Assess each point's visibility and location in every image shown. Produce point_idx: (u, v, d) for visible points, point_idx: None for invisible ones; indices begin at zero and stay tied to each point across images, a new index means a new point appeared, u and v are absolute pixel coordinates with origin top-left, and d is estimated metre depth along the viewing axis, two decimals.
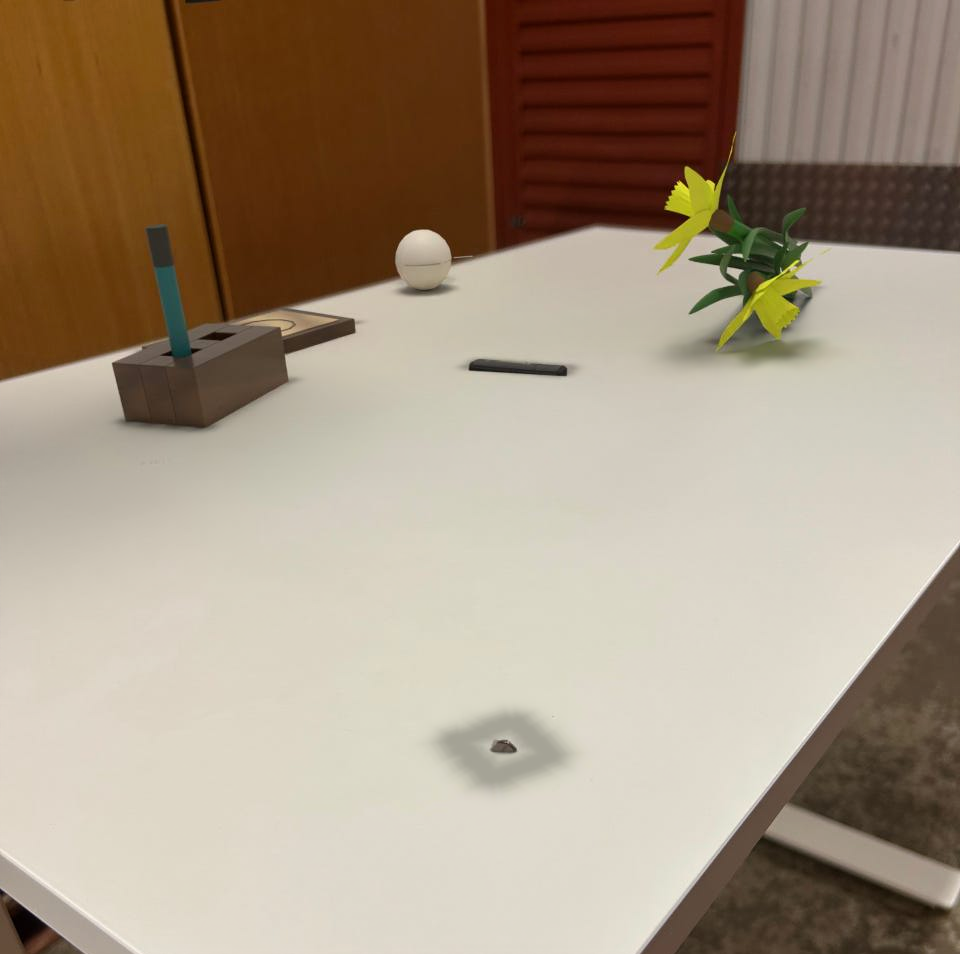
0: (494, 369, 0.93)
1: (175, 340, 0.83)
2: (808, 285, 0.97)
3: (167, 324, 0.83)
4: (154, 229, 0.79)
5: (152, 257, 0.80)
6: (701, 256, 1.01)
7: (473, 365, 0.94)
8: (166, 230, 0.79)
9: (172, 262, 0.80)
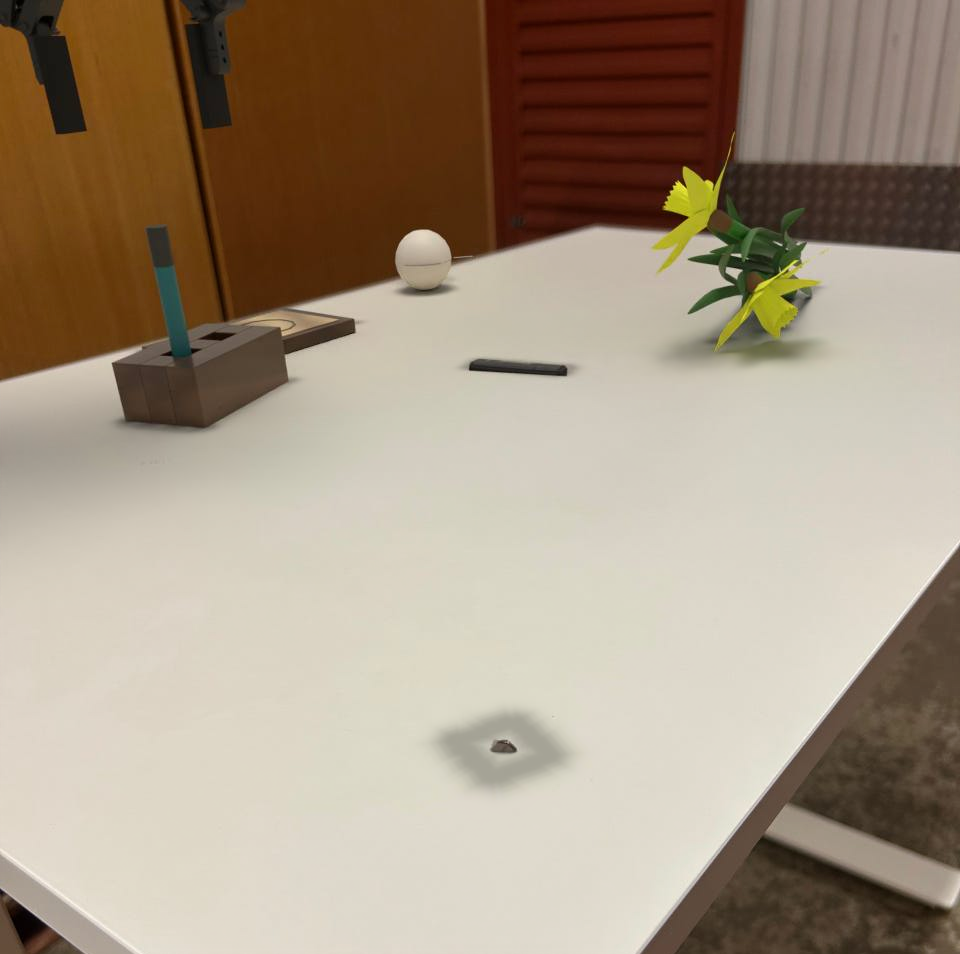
0: (495, 369, 0.93)
1: (175, 340, 0.83)
2: (807, 285, 0.97)
3: (167, 324, 0.83)
4: (154, 229, 0.79)
5: (152, 257, 0.80)
6: (700, 256, 1.01)
7: (473, 365, 0.94)
8: (166, 230, 0.79)
9: (172, 262, 0.80)
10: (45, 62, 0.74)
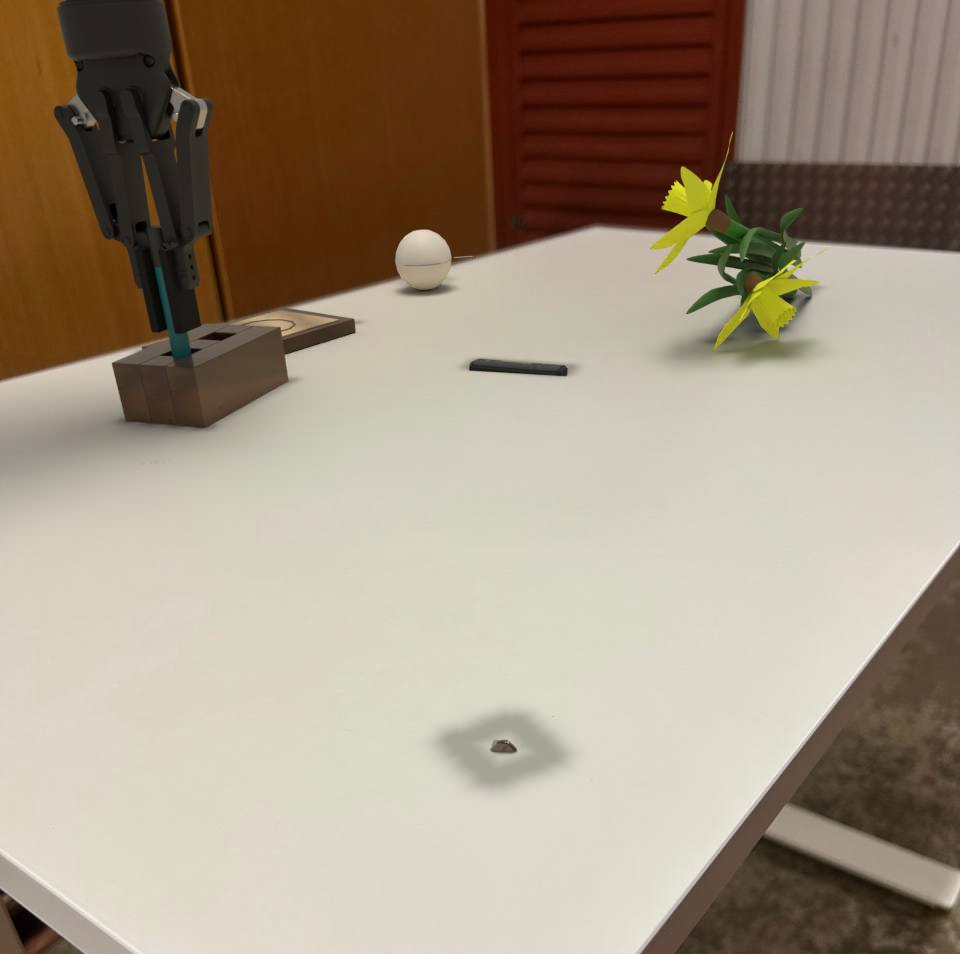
0: (495, 369, 0.93)
1: (175, 340, 0.83)
2: (806, 285, 0.97)
3: (167, 324, 0.83)
4: (154, 229, 0.79)
5: (152, 257, 0.80)
6: (699, 256, 1.01)
7: (473, 364, 0.94)
8: None
9: None
10: (145, 272, 0.80)
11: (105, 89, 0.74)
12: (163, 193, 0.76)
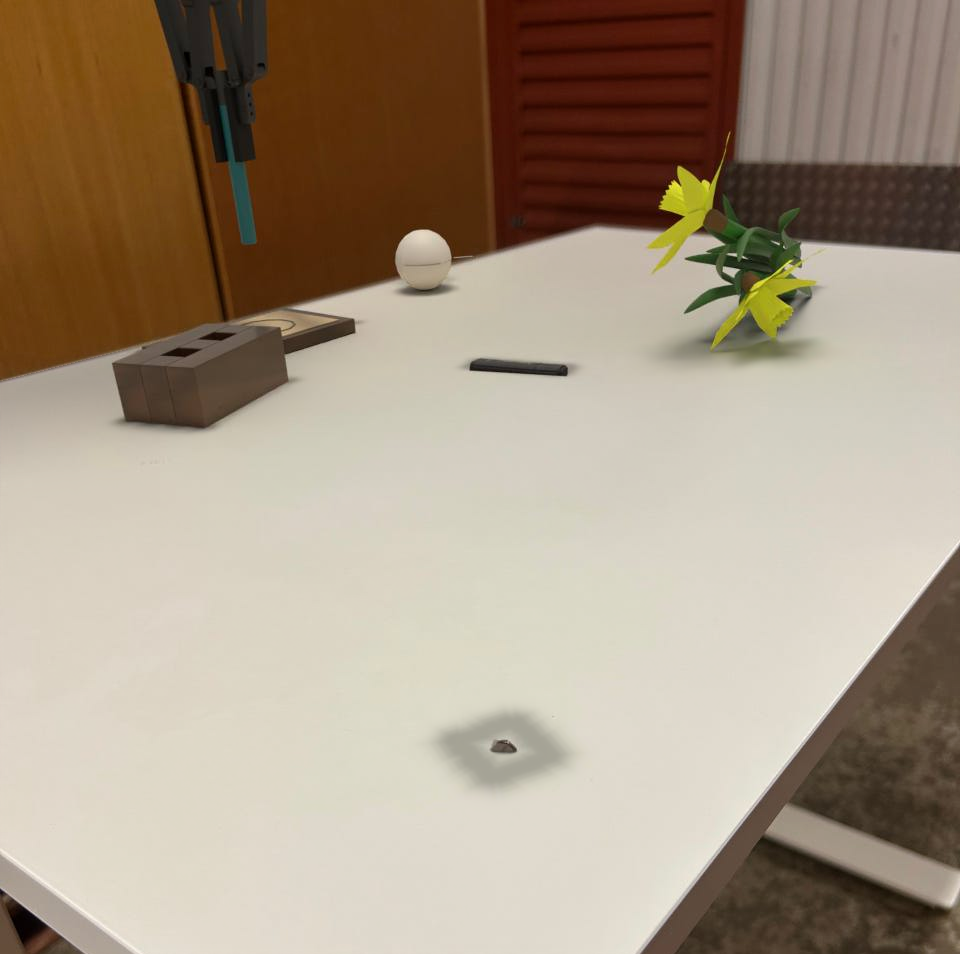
0: (495, 369, 0.93)
1: (235, 169, 1.01)
2: (803, 285, 0.98)
3: (229, 156, 1.00)
4: (220, 71, 0.96)
5: (218, 96, 0.98)
6: (697, 255, 1.01)
7: (474, 364, 0.94)
8: None
9: None
10: (212, 109, 0.98)
11: None
12: (229, 38, 0.94)
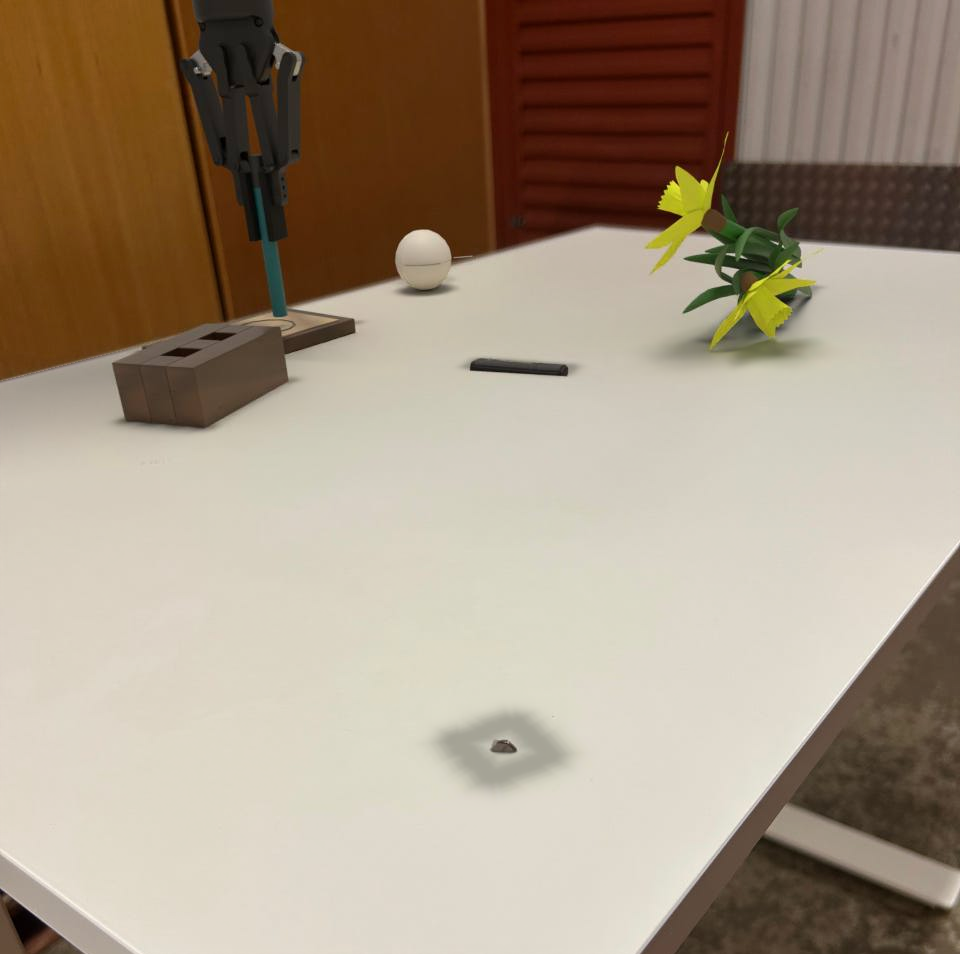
0: (496, 369, 0.93)
1: (268, 247, 1.05)
2: (802, 285, 0.98)
3: (262, 235, 1.04)
4: (255, 156, 1.00)
5: (252, 179, 1.02)
6: (696, 255, 1.01)
7: (474, 364, 0.94)
8: None
9: None
10: (247, 191, 1.02)
11: (222, 45, 0.95)
12: (264, 127, 0.98)
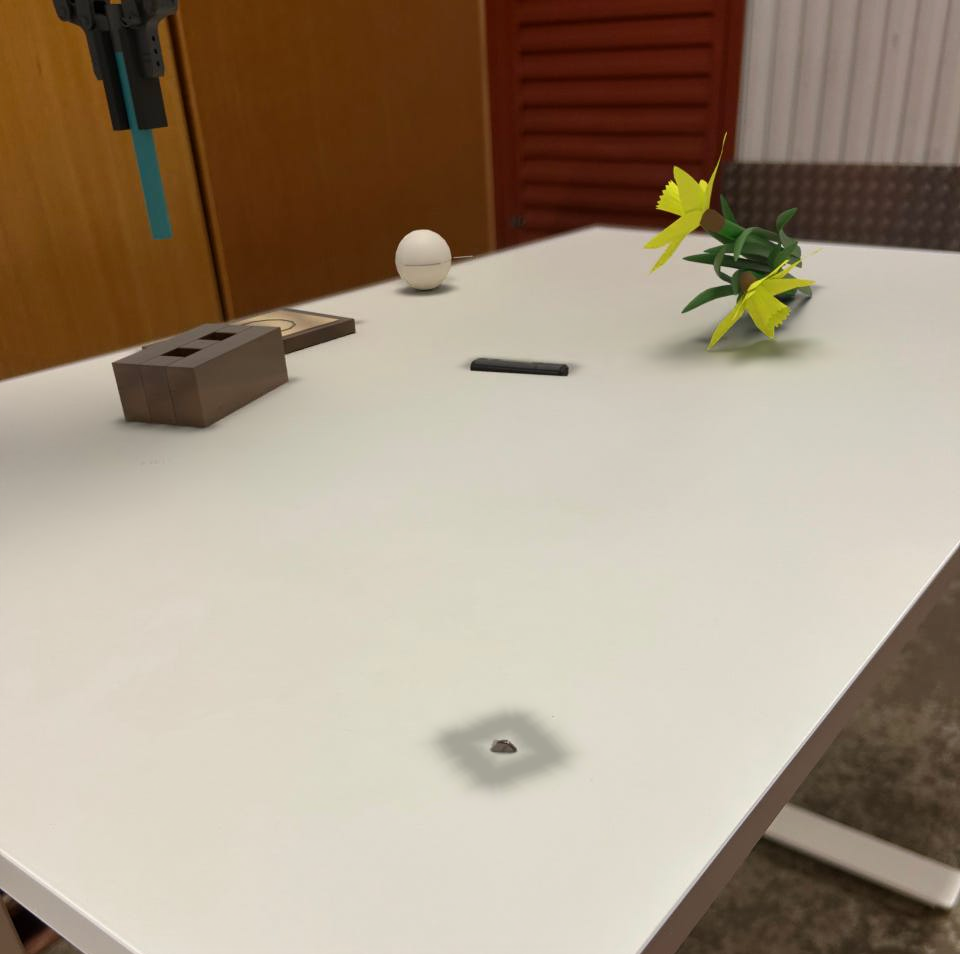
0: (496, 368, 0.93)
1: (139, 139, 0.76)
2: (801, 285, 0.98)
3: (130, 121, 0.76)
4: (114, 5, 0.72)
5: (112, 40, 0.73)
6: (695, 255, 1.01)
7: (474, 364, 0.94)
8: None
9: None
10: (105, 57, 0.73)
11: None
12: None
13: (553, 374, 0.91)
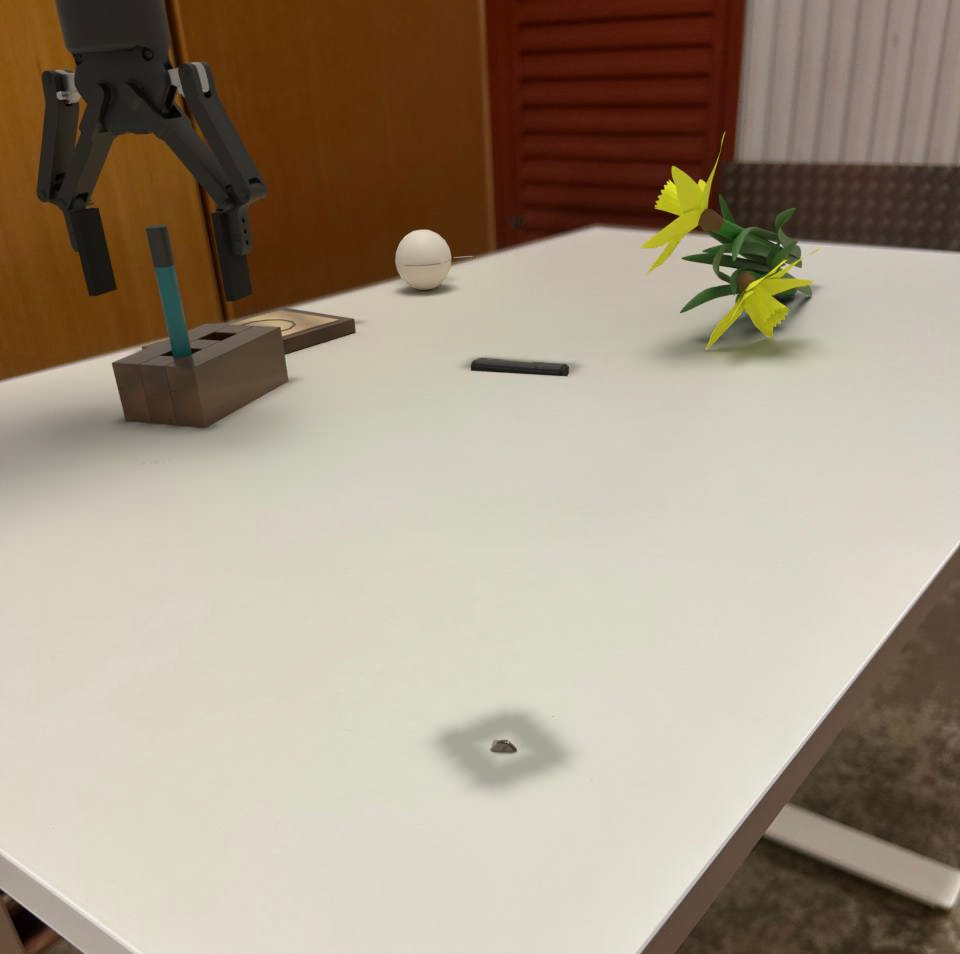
0: (496, 368, 0.93)
1: (176, 340, 0.83)
2: (800, 285, 0.98)
3: (167, 325, 0.82)
4: (154, 229, 0.79)
5: (152, 257, 0.80)
6: (694, 255, 1.01)
7: (475, 364, 0.94)
8: (167, 230, 0.79)
9: (172, 262, 0.80)
10: (80, 235, 0.81)
11: (103, 82, 0.73)
12: (196, 161, 0.74)
13: (553, 374, 0.91)
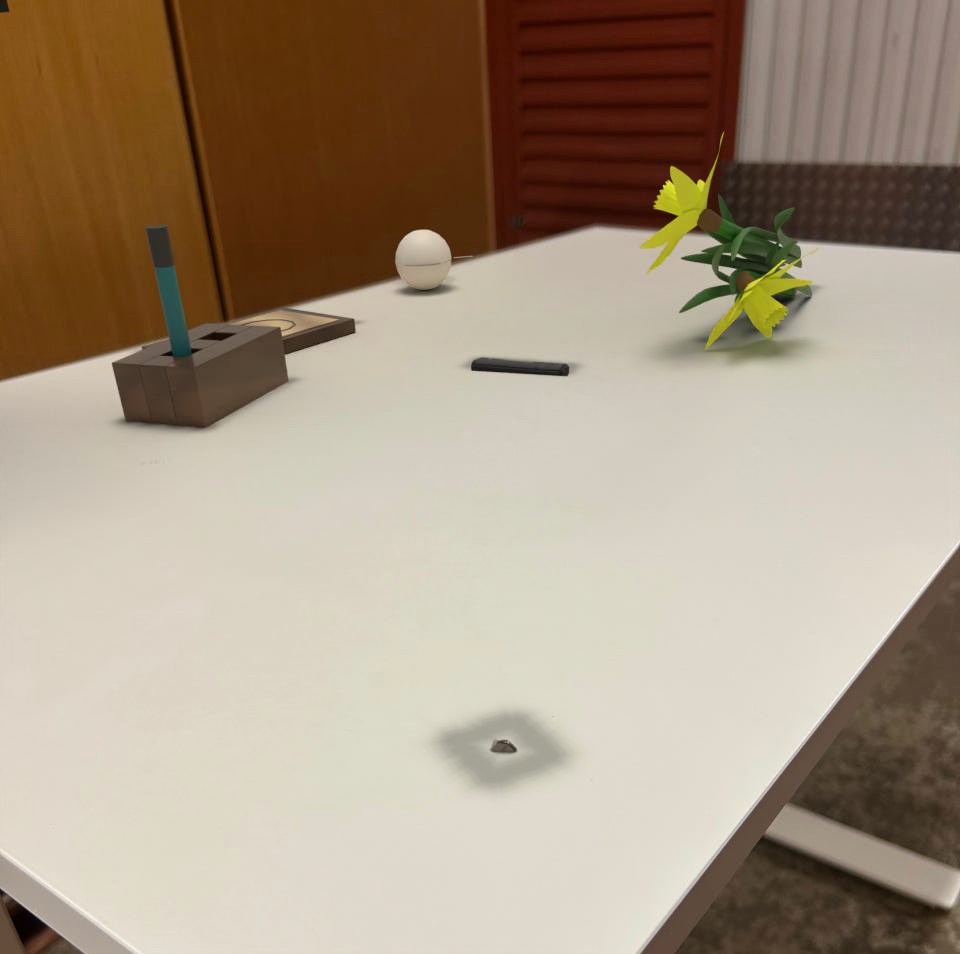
0: (497, 368, 0.93)
1: (176, 340, 0.83)
2: (799, 285, 0.98)
3: (167, 325, 0.82)
4: (154, 229, 0.79)
5: (152, 257, 0.80)
6: (694, 255, 1.01)
7: (475, 363, 0.94)
8: (167, 230, 0.79)
9: (172, 262, 0.80)
10: None
11: None
12: None
13: (554, 373, 0.91)
